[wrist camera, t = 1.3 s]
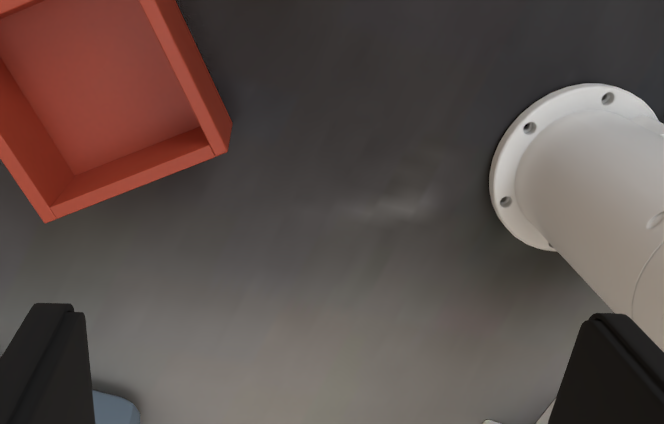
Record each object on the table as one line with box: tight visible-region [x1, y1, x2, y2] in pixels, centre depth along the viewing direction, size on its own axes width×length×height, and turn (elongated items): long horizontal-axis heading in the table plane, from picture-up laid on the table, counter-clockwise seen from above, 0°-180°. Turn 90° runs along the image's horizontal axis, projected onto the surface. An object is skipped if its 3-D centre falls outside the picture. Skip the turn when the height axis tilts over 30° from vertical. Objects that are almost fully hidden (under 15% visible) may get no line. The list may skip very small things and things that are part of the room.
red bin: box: [0, 0, 232, 223], centre depth 33 cm, size 12×12×6 cm
